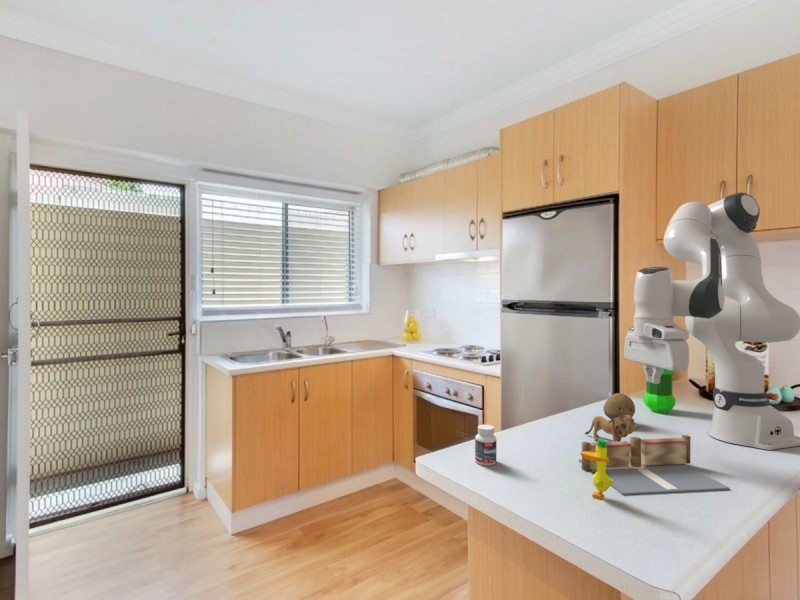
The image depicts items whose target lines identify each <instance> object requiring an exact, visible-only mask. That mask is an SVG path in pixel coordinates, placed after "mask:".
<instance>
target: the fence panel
mask: <svg viewBox="0 0 800 600" xmlns="http://www.w3.org/2000/svg"><path fill="white" fill-rule="evenodd" d="M640 439H641V463H642V464H644V465H666V464H686V465H690V464H691V436H690V435H687V434H681V437H674V438H673V437H672V438H671V437H669V438H646V439H645V438H644V439H642V438H640Z"/></svg>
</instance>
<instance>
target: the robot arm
mask: <svg viewBox="0 0 800 600" xmlns="http://www.w3.org/2000/svg"><path fill="white" fill-rule="evenodd" d="M760 215H761V209H760V206H759V204H758V202H757V200H756V198H754V197H753V196H752V195H750V194H748V193H746V192H742V191H741V192H737V193H732V194H730V195H727V196H725V197H724V198H723V199H720V200H717V201H715V202H712V203H711V204H709V205H706V204H705V203H703V202H700V201H689V202H688V201H687V202H686V203H684V204H682V205H679V207H678V208H677V209H676V211H675V212H674V213H673V215H672V217H671V218H670V221H669V222H668V224H667V226H666V229H665V231H664V235H663V241H662V242H663V246H664V250H665V251H666V252H667V253H668V254H669V255H670V256H671V257H673V258H675V259H677V260H680V261H682V262H689V263H695V264H697V265H701V277H699V278H695V279H682V280H681V279H679V280H676V279H675V280H673V277H672V272H671V268H669V267H667V266H652V267H651V266H650V267H645V268H640V269H639V270H638V271H637V272H636V276H635V280H634V288H633V303H634V308H635V309H634V310H635V311H634V315H633V327H630V328H629V329H628V331H627V334H626V336H625V339H624V347H623V355H624V359H625V360H627V361H632V362H634V363H635V362H636V363H639V364H643V365H642V369H643V370H644V373H645V378H646V382H647V381H648V382H651V383H654V384H659V383H660V377H661V375H662V373H663V371H664V369H666V370H670V371H675V372H686V371H687V370H688V368H689V365H690V348H689V343H688V342H687V341H686V340H688V339H690V335H691V336H692V337H694V339H697V340H698V341H700V342H701V343H702V344H703V345H704V346H705V348H706V349H707V351H708V352H709V354H710V355H711V358H712V361H713V367H714V368H713V369H714V379H715V380H714V386H713V391H712V392H713V393H712V398H713V402H714V406H713V411H712V417H711V422H710V426H709V430H708V432H707V434H708V435H709V436H710V437H712V438H714V439H716V440H720V441H723V442H724V443H725V442H727V443H729V444H734V445H740V446H745V447H752V448H757V449H762V450H766V451H772V450H777V449H786V448H791V447H800V437H799V436H797V435H795V431H794V425H793V422H792V420H791V419H790V418H788V417H787V416H786V415H785V414H783V413H782V412H780V411H779V410H778V409H776V408H775V407H773V406H772V404H771V400H772V401H774V402H778V400H780V396H779V393H778V394H777V393H773V392H768V393H767V392H766V391H765V367H764V365H763V363H762V362H761V360H760V359H758V358H756V357H755V356H752V355H750V354H749V353H746V352H745V351H742V350H739V349H738V347H737V346H736V343H738V342H746V343H747V342H750V343H765V344H766V343H781V342H789V341H792V340H793V339H795V337H797V335H799V332H800V315H799V313H798V312H797V311H796V310H795V308H793V307H792V306H790V305H788V304H786V303H783V302H782V301H780V300H778V299H777V298H776V297H774V295H773V294H772V293H770V291H769V290H768V289H767V287H766V286H765V283H764V278H763V272H762V258H761V252H760V249H759V246H758V242H757V240H756V238H755V236H754V235H753V234H751V233H752V232H754V230H755V229H756V228H757V223H758V222H759V217H760ZM725 297H726V298H729V299H731V300H734V301H736V302H730V303H729V302H726V298H725ZM674 317H685V318H684V323H685V328H686V329H685V328H683V327H681V326H680V325H678V324H677V323H674ZM653 370H654V372H653Z"/></svg>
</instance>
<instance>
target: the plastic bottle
mask: <svg viewBox="0 0 800 600" xmlns="http://www.w3.org/2000/svg"><path fill="white" fill-rule="evenodd" d="M641 364H642V363H641ZM642 366H643V364H642ZM653 372H654V370H653ZM674 372H676V371H670V370H666V369H664V371H663V373H662V375H661V377H660V383H659V384H654V383H651V382H648V381H646V392H645V394H644V396H643V403H644V405H645V406H646V407H647V408H648V409H649V410H650V411H651V410H652V412H653V411H654V412H653V413H657V412H658V413H659V414H667V413H668V412H671V410H672V409H674V408H675V405H676V401H677V400H676V398H675V396H674V394H673V374H674ZM658 413H657V414H658Z"/></svg>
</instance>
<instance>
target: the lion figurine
mask: <svg viewBox="0 0 800 600" xmlns="http://www.w3.org/2000/svg"><path fill="white" fill-rule="evenodd" d="M636 427H637V423H636V422H635V419H634V418H633V417H631V416H629V415H624V416H621V417H619V418H614V419H612V420H611V419H606V418H605V417H603V416H600V415H597V416H594V417H593V419H592V423H591V426H590V428H589V430H588V431H586V432H584V434H585V435H589V434H590V433H591V432H592V430H593V440H594V441H595V442H598V439H599V434H598V432H599V431H601V430H602V431H603V432H605V433H606V434H608V435H612V442H620V441H621V440H622V438H627V436H628V435H631V434H633V433H634V432H635V429H636Z"/></svg>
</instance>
